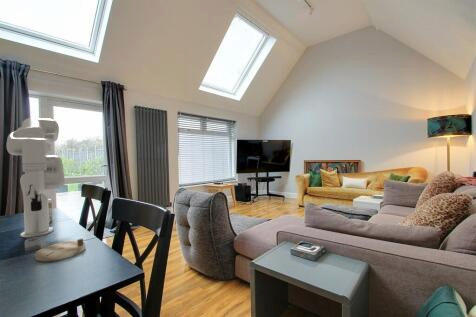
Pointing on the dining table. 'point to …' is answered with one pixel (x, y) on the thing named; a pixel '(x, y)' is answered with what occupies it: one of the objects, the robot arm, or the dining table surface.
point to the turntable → (60, 250)
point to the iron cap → (32, 244)
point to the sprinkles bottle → (50, 209)
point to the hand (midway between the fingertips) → (36, 210)
